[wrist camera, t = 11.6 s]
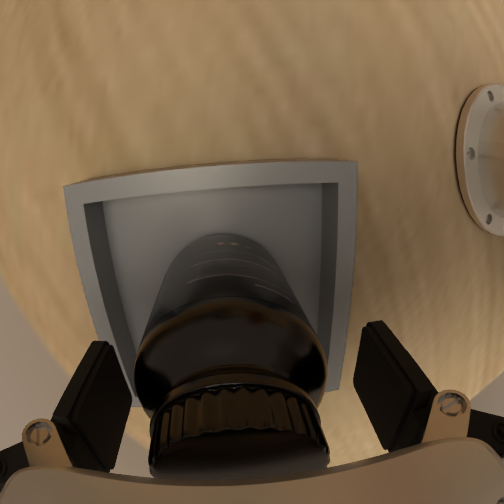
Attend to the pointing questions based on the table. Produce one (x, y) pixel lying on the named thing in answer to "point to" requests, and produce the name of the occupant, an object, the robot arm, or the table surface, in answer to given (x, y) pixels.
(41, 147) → the table surface
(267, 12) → the table surface
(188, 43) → the table surface
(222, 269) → the supplement bottle
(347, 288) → the box
